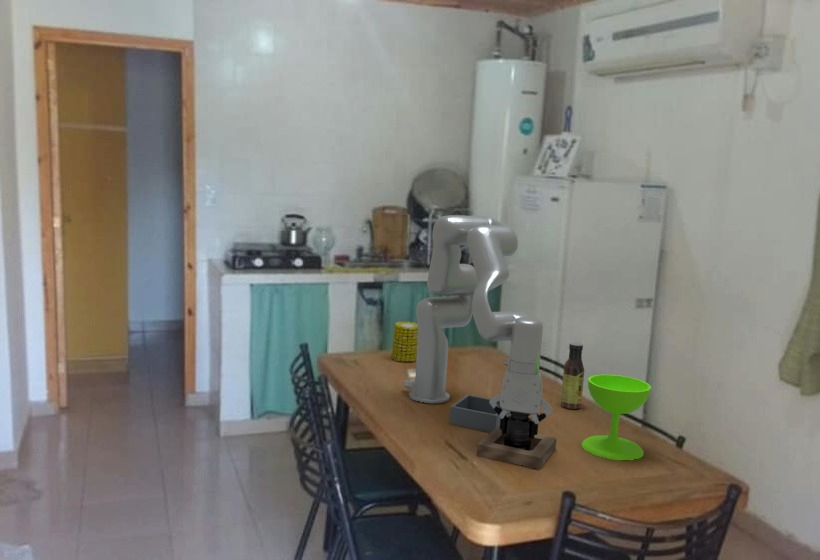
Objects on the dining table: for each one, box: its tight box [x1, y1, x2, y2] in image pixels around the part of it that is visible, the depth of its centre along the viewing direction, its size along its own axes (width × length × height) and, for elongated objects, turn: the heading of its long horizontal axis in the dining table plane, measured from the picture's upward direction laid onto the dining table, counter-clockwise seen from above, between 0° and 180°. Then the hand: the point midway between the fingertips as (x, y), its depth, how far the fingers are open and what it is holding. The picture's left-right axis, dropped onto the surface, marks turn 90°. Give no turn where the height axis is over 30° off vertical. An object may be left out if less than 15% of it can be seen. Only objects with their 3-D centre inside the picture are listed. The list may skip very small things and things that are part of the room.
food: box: [391, 321, 418, 363], centre depth 276 cm, size 15×12×10 cm
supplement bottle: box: [503, 411, 533, 451], centre depth 191 cm, size 7×7×12 cm
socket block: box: [476, 426, 557, 470], centre depth 192 cm, size 16×16×3 cm
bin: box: [448, 394, 511, 433], centre depth 213 cm, size 14×14×5 cm
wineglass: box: [581, 374, 652, 461], centre depth 197 cm, size 16×16×18 cm
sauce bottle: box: [560, 342, 585, 410], centre depth 231 cm, size 7×6×20 cm
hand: (518, 434), depth 191 cm, fingers closed on supplement bottle, 6 cm apart
